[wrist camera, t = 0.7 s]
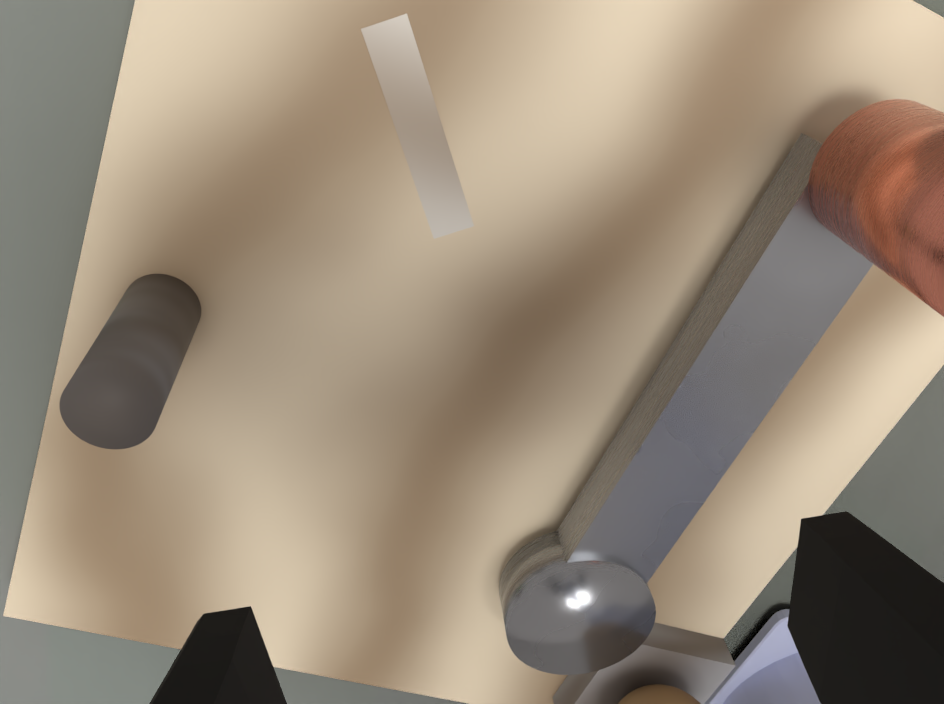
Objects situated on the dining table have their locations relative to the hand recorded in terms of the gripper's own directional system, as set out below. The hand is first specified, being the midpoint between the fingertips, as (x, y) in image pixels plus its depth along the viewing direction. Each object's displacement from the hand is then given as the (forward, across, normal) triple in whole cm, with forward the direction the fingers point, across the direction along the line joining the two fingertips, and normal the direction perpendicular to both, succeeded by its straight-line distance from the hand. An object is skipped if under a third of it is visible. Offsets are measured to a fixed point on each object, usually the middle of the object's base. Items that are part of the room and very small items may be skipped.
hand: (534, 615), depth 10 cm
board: (+10, -1, +2) cm, 10 cm away
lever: (+8, -5, +3) cm, 10 cm away
